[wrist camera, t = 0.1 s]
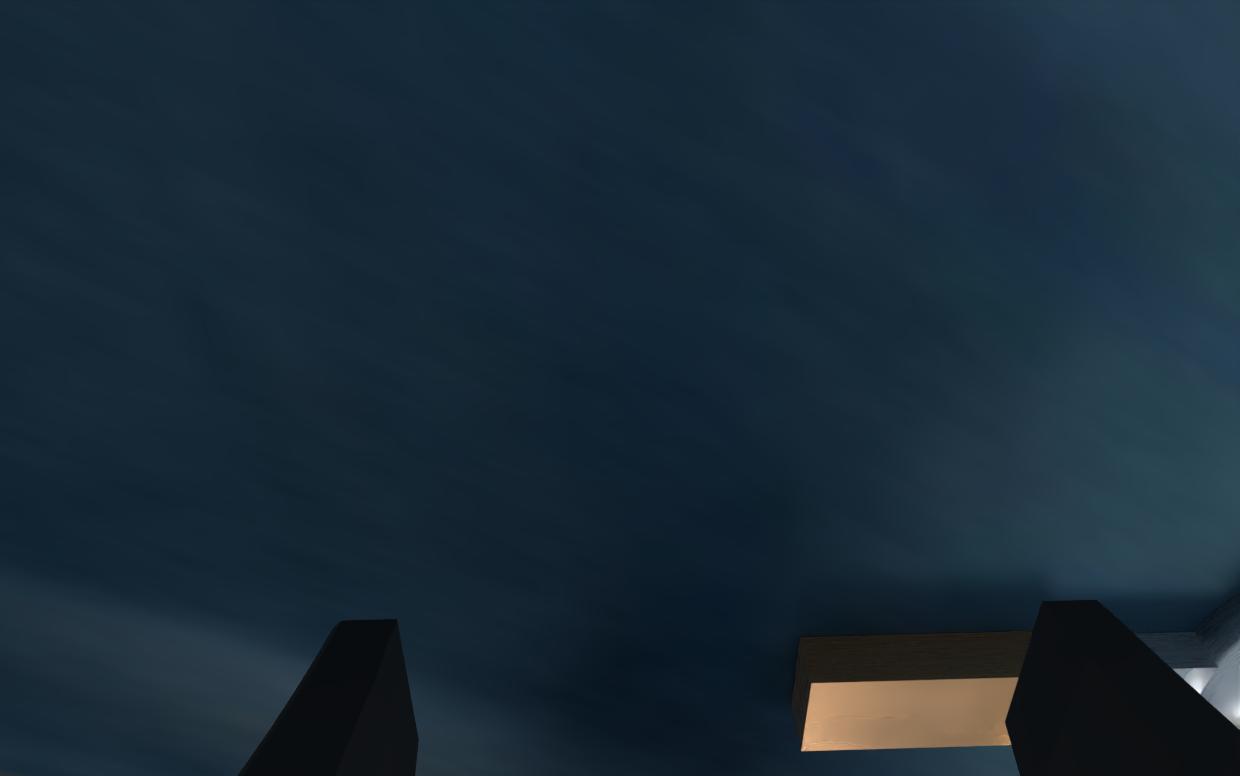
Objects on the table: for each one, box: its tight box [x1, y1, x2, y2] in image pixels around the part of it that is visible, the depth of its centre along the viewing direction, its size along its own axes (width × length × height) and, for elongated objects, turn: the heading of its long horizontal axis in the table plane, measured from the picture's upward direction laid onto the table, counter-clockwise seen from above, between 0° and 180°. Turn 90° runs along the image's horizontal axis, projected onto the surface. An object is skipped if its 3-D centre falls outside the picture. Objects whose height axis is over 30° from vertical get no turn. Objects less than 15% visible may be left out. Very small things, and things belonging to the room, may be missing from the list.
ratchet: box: [791, 593, 1240, 751], centre depth 24 cm, size 18×8×5 cm, turn 90°
